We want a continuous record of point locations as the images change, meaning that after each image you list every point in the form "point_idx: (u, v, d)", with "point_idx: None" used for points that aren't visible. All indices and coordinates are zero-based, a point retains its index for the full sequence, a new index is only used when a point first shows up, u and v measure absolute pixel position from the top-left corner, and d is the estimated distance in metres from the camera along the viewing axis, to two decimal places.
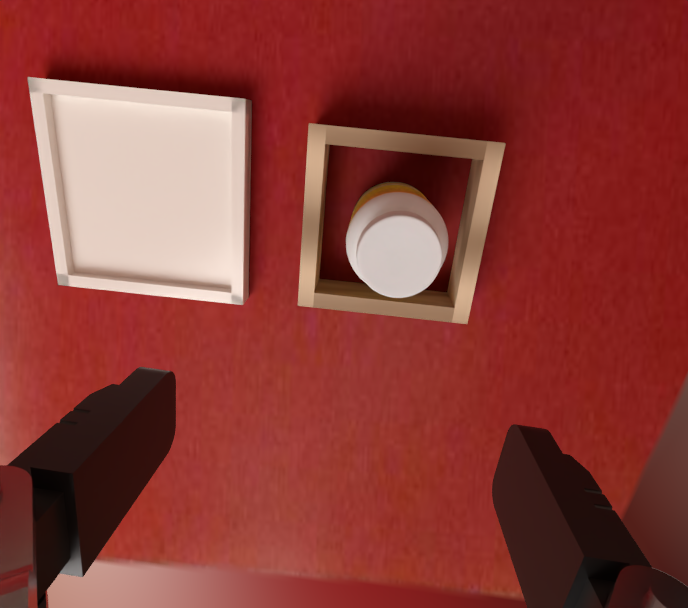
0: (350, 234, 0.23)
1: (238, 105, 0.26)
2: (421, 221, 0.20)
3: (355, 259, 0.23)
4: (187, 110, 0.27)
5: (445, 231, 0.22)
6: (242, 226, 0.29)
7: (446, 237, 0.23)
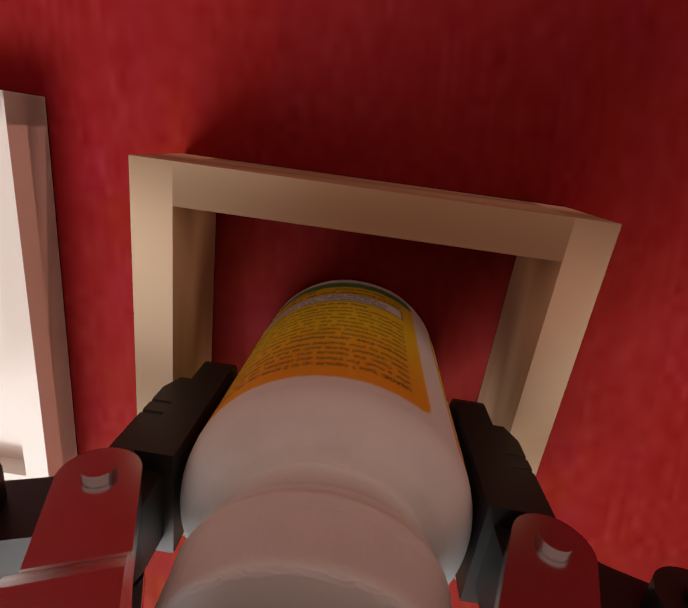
0: (183, 493, 0.08)
1: None
2: (377, 592, 0.05)
3: None
4: None
5: (466, 502, 0.07)
6: (31, 358, 0.14)
7: (468, 517, 0.07)
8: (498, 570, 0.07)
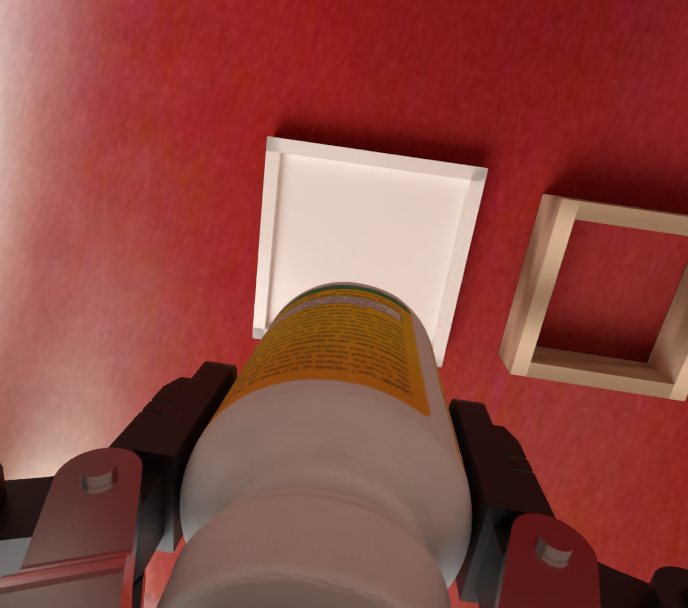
0: (182, 497, 0.08)
1: (479, 174, 0.26)
2: (376, 598, 0.05)
3: None
4: (420, 175, 0.27)
5: (466, 506, 0.07)
6: (457, 290, 0.28)
7: (468, 521, 0.07)
8: (498, 570, 0.07)
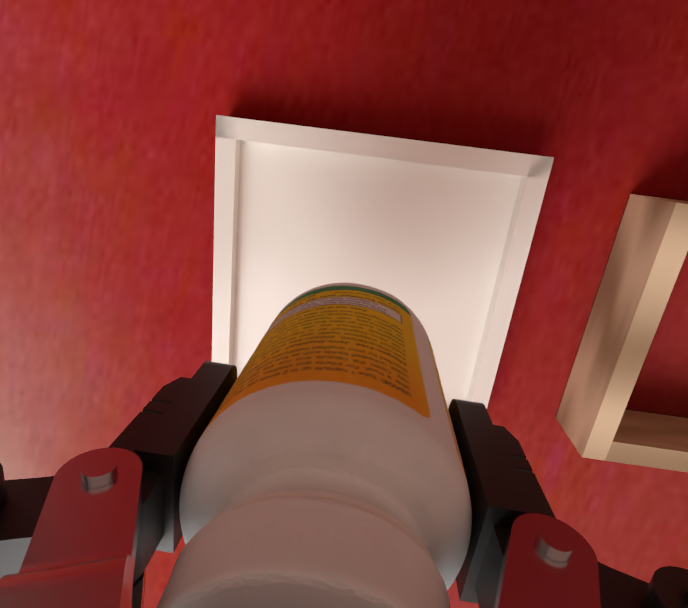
0: (182, 498, 0.08)
1: (540, 167, 0.17)
2: (376, 600, 0.05)
3: None
4: (448, 169, 0.18)
5: (465, 508, 0.07)
6: (503, 337, 0.19)
7: (468, 522, 0.07)
8: (498, 570, 0.07)
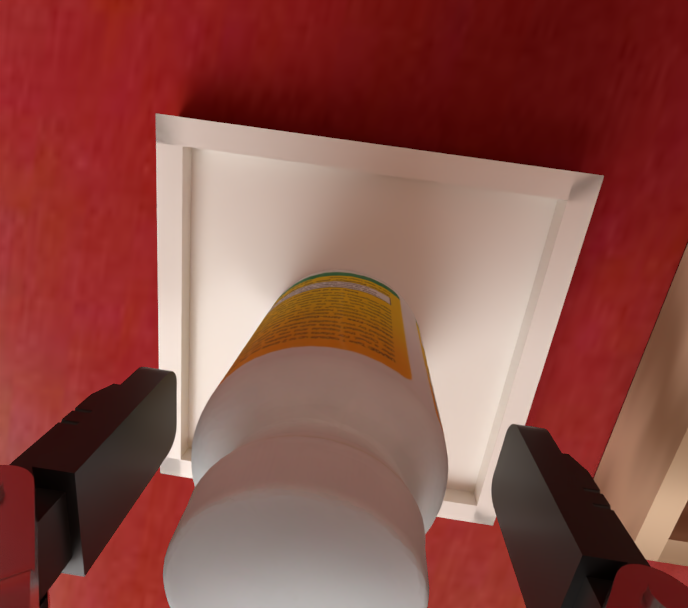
0: (194, 449, 0.09)
1: (585, 188, 0.13)
2: (360, 510, 0.06)
3: None
4: (461, 189, 0.14)
5: (441, 456, 0.08)
6: (529, 403, 0.15)
7: (443, 470, 0.09)
8: None
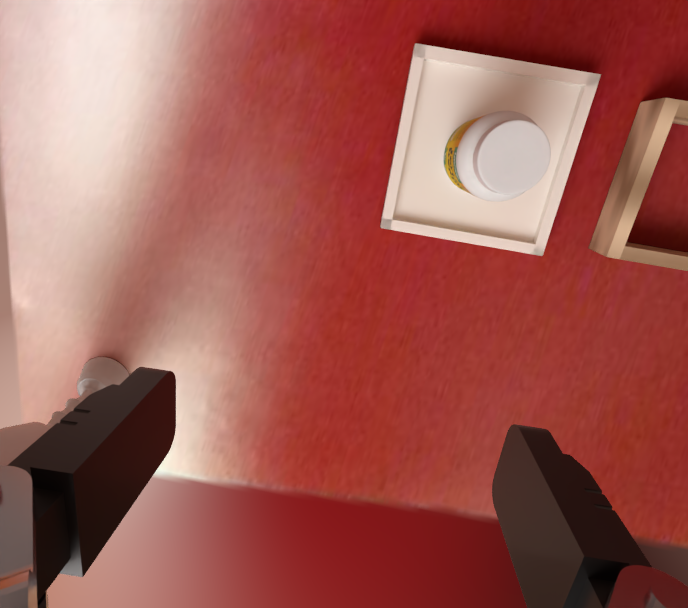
0: (464, 144, 0.27)
1: (593, 79, 0.31)
2: (536, 126, 0.24)
3: (466, 166, 0.27)
4: (539, 81, 0.32)
5: None
6: (564, 185, 0.33)
7: None
8: None
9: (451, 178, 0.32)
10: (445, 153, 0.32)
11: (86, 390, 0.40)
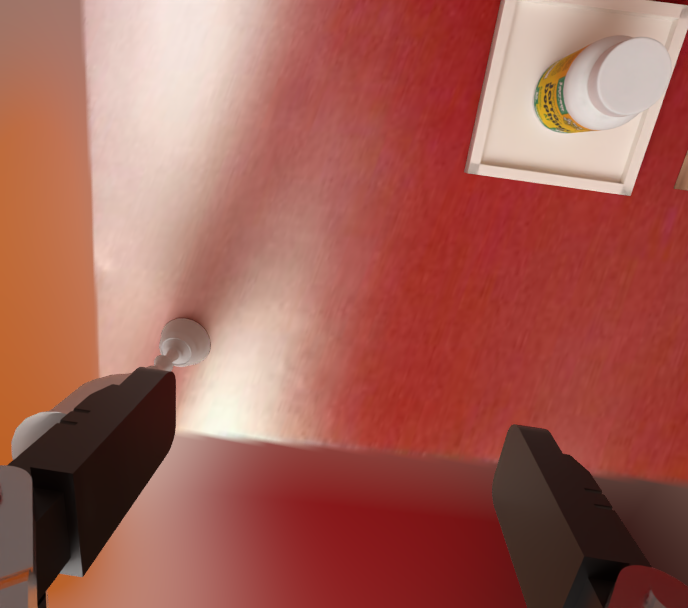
0: (575, 71, 0.27)
1: (687, 12, 0.31)
2: (659, 42, 0.24)
3: (577, 93, 0.27)
4: (631, 17, 0.32)
5: None
6: (654, 122, 0.33)
7: None
8: None
9: (544, 117, 0.32)
10: (537, 92, 0.33)
11: (170, 348, 0.41)
